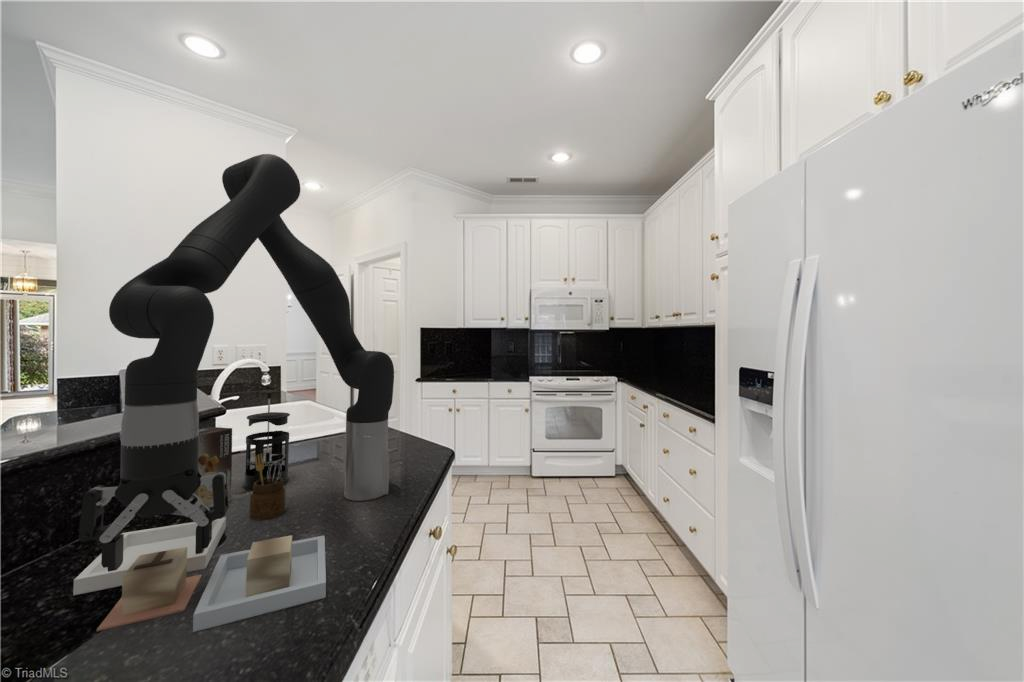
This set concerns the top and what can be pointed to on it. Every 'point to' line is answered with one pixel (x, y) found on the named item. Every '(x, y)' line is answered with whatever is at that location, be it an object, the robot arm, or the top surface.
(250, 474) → the french press
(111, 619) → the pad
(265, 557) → the plain cube
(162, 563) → the letter cube
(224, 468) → the coffee box
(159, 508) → the robot arm
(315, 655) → the top surface
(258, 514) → the utensil holder
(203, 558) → the white tray
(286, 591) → the blue tray
